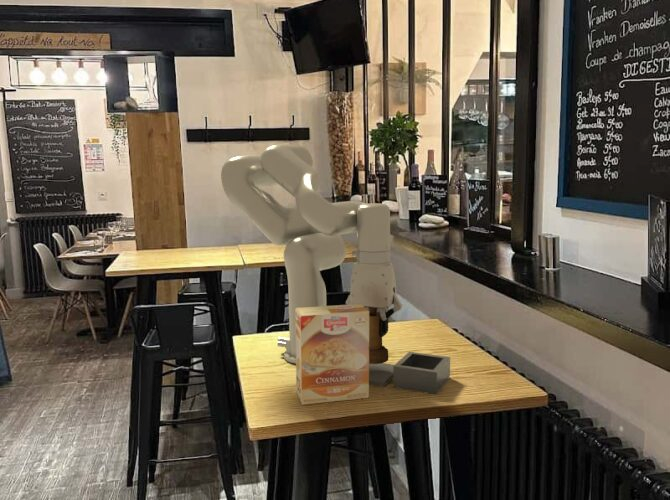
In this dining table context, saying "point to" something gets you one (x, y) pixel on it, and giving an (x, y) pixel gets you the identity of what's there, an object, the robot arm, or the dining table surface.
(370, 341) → the wooden pepper mill
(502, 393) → the dining table surface
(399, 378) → the open square box
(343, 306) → the coffeecake box
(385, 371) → the coaster
